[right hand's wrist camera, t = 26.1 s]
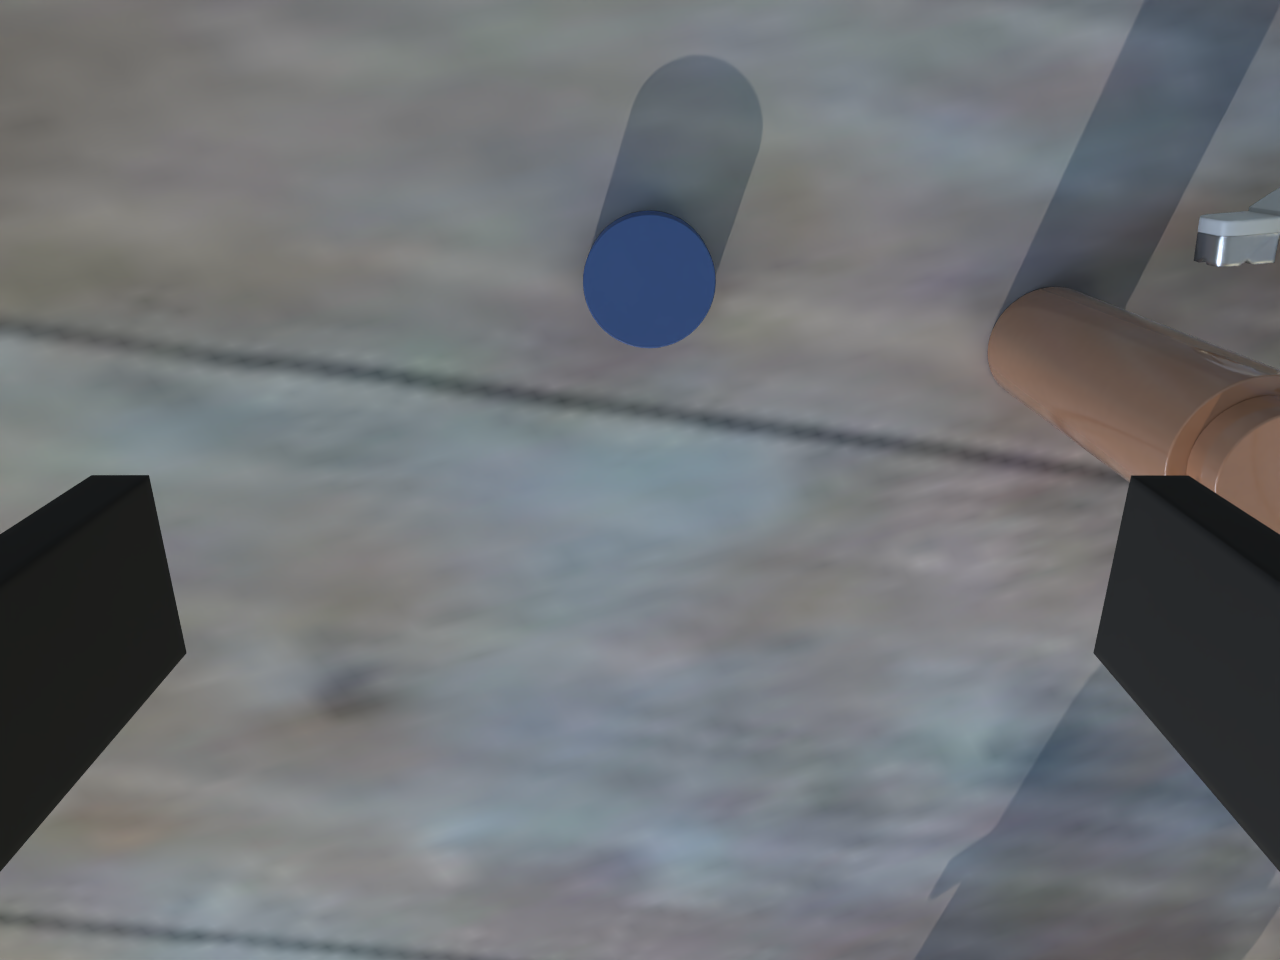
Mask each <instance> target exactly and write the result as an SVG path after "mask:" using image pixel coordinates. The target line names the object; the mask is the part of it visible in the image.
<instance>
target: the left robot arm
mask: <svg viewBox="0 0 1280 960" xmlns="http://www.w3.org/2000/svg"><path fill="white" fill-rule="evenodd" d="M1279 237H1280V187H1279V188H1278V189H1276V190H1275V191H1273V192H1271V193H1270V194H1268V195H1267V196H1265V197H1264V198H1262V199H1261V200H1259V201H1258V202H1256V203H1255V204H1253V205H1252V206H1250V207H1249V211H1241V212H1230V213H1218V214H1206V215H1202V216H1200V220H1199V227H1198V234H1197V241H1196V248H1195V255H1194V261H1197V262H1206V264H1208V265H1212V266H1239V265H1241V264H1242V263H1244V262H1245V263H1249V264H1253V265H1254V264H1265V263H1274V261H1275V256H1276V251H1277V246H1278V241H1279Z"/></svg>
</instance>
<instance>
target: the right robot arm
mask: <svg viewBox="0 0 1280 960" xmlns="http://www.w3.org/2000/svg"><path fill="white" fill-rule="evenodd" d="M185 654H186V649H185V644H184V639H183V634H182V630H181V625H180V620H179V616H178V611H177V606H176V601H175V597H174V592H173V587H172V582H171V578H170V573H169V568H168V564H167V559H166V554H165V549H164V545H163V540H162V535H161V530H160V526H159V521H158V516H157V512H156V507H155V502H154V497H153V493H152V488H151V483H150V478H149V475H91V476H90V477H88V478H87V479H85V480H84V481H82V482H81V483H79V484H77V485H76V486H74V487H73V488H71V489H70V490H68V491H67V492H65V493H64V494H62V495H60V496H59V497H57V498H56V499H54V500H53V501H51V502H50V503H48V504H47V505H45V506H43V507H42V508H40V509H39V510H37V511H36V512H34V513H33V514H31V515H30V516H28V517H26V518H25V519H23V520H22V521H20V522H19V523H17V524H16V525H14V526H13V527H11V528H9V529H8V530H6V531H5V532H3V533H2V534H0V871H1V870H2V869H3V868H4V867H5V865H6V864H7V863H8V862H9V861H10V860H11V858H12V857H13V856H14V855H15V854H16V853H17V851H18V850H19V849H20V848H21V847H22V845H23V844H24V843H25V842H26V841H27V840H28V838H29V837H30V836H31V835H32V834H33V833H34V831H35V830H36V829H37V828H38V827H39V826H40V824H41V823H42V822H43V821H44V820H45V818H46V817H47V816H48V815H49V814H50V813H51V811H52V810H53V809H54V808H55V807H56V806H57V804H58V803H59V802H60V801H61V800H62V799H63V797H64V796H65V795H66V794H67V793H68V791H69V790H70V789H71V788H72V787H73V786H74V784H75V783H76V782H77V781H78V780H79V779H80V777H81V776H82V775H83V774H84V773H85V772H86V770H87V769H88V768H89V767H90V766H91V764H92V763H93V762H94V761H95V760H96V759H97V757H98V756H99V755H100V754H101V753H102V752H103V750H104V749H105V748H106V747H107V746H108V745H109V743H110V742H111V741H112V740H113V739H114V737H115V736H116V735H117V734H118V733H119V732H120V730H121V729H122V728H123V727H124V726H125V725H126V723H127V722H128V721H129V720H130V719H131V718H132V716H133V715H134V714H135V713H136V712H137V710H138V709H139V708H140V707H141V706H142V705H143V703H144V702H145V701H146V700H147V699H148V698H149V696H150V695H151V694H152V693H153V692H154V691H155V689H156V688H157V687H158V686H159V685H160V683H161V682H162V681H163V680H164V679H165V678H166V676H167V675H168V674H169V673H170V672H171V671H172V669H173V668H174V667H175V666H176V665H177V664H178V662H179V661H180V660H181V659H182V658H183V656H184V655H185ZM1094 654H1095V655H1096V656H1097V658H1098V659H1099V660H1100V661H1101V662H1102V664H1103V665H1104V666H1105V667H1106V668H1107V669H1108V671H1109V672H1110V673H1111V674H1112V675H1113V676H1114V678H1115V679H1116V680H1117V681H1118V682H1119V683H1120V685H1121V686H1122V687H1123V688H1124V689H1125V691H1126V692H1127V693H1128V694H1129V695H1130V696H1131V698H1132V699H1133V700H1134V701H1135V702H1136V703H1137V705H1138V706H1139V707H1140V708H1141V709H1142V710H1143V712H1144V713H1145V714H1146V715H1147V716H1148V718H1149V719H1150V720H1151V721H1152V722H1153V723H1154V725H1155V726H1156V727H1157V728H1158V729H1159V730H1160V732H1161V733H1162V734H1163V735H1164V736H1165V737H1166V739H1167V740H1168V741H1169V742H1170V743H1171V745H1172V746H1173V747H1174V748H1175V749H1176V750H1177V752H1178V753H1179V754H1180V755H1181V756H1182V757H1183V759H1184V760H1185V761H1186V762H1187V763H1188V764H1189V766H1190V767H1191V768H1192V769H1193V770H1194V772H1195V773H1196V774H1197V775H1198V776H1199V777H1200V779H1201V780H1202V781H1203V782H1204V783H1205V784H1206V786H1207V787H1208V788H1209V789H1210V790H1211V791H1212V793H1213V794H1214V795H1215V796H1216V797H1217V799H1218V800H1219V801H1220V802H1221V803H1222V804H1223V806H1224V807H1225V808H1226V809H1227V810H1228V811H1229V813H1230V814H1231V815H1232V816H1233V817H1234V818H1235V820H1236V821H1237V822H1238V823H1239V824H1240V826H1241V827H1242V828H1243V829H1244V830H1245V831H1246V833H1247V834H1248V835H1249V836H1250V837H1251V838H1252V840H1253V841H1254V842H1255V843H1256V844H1257V845H1258V847H1259V848H1260V849H1261V850H1262V851H1263V853H1264V854H1265V855H1266V856H1267V857H1268V858H1269V860H1270V861H1271V862H1272V863H1273V864H1274V865H1275V867H1276V868H1277V869H1278V870H1279V871H1280V534H1278V533H1277V532H1275V531H1274V530H1272V529H1271V528H1269V527H1267V526H1266V525H1264V524H1263V523H1261V522H1260V521H1258V520H1257V519H1255V518H1254V517H1252V516H1250V515H1249V514H1247V513H1246V512H1244V511H1243V510H1241V509H1240V508H1238V507H1237V506H1235V505H1233V504H1232V503H1230V502H1229V501H1227V500H1226V499H1224V498H1223V497H1221V496H1220V495H1218V494H1216V493H1215V492H1213V491H1212V490H1210V489H1209V488H1207V487H1206V486H1204V485H1203V484H1201V483H1199V482H1198V481H1196V480H1195V479H1193V478H1192V477H1190V476H1189V475H1131V478H1130V483H1129V488H1128V493H1127V497H1126V502H1125V507H1124V512H1123V516H1122V521H1121V526H1120V530H1119V535H1118V540H1117V545H1116V549H1115V554H1114V559H1113V564H1112V568H1111V573H1110V578H1109V582H1108V587H1107V592H1106V597H1105V601H1104V606H1103V611H1102V616H1101V620H1100V625H1099V630H1098V634H1097V639H1096V644H1095V649H1094Z"/></svg>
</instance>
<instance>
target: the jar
mask: <svg viewBox="0 0 1280 960" xmlns="http://www.w3.org/2000/svg"><path fill="white" fill-rule="evenodd" d="M988 362H989V367H990V369H991V372H992V374H993V376H994V378H995V380H996V381H997V383H998V384H999V385H1000V386H1001V387H1002V388H1003V389H1004V390H1005V391H1007V392H1008V393H1009V394H1011V395H1012V396H1013V397H1015V398H1016V399H1017V400H1019V401H1020V402H1022V403H1023V404H1024V405H1026V406H1027V407H1028V408H1030V409H1031V410H1032V411H1034V412H1035V413H1036V414H1038V415H1039V416H1041V417H1042V418H1043V419H1045V420H1046V421H1047V422H1049V423H1050V424H1051V425H1053V426H1054V427H1055V428H1057V429H1058V430H1059V431H1061V432H1062V433H1064V434H1065V435H1066V436H1068V437H1069V438H1070V439H1072V440H1073V441H1074V442H1076V443H1077V444H1078V445H1080V446H1081V447H1082V448H1084V449H1085V450H1087V451H1088V452H1089V453H1091V454H1092V455H1093V456H1095V457H1096V458H1097V459H1099V460H1100V461H1101V462H1103V463H1104V464H1105V465H1107V466H1108V467H1110V468H1111V469H1112V470H1114V471H1115V472H1116V473H1118V474H1119V475H1120V476H1122V477H1123V478H1124V479H1126V480H1127V481H1128V482H1130V478H1131V475H1189V476H1190V477H1192V478H1193V479H1195V480H1196V481H1198V482H1199V483H1201V484H1203V485H1204V486H1206V487H1207V488H1209V489H1210V490H1212V491H1213V492H1215V493H1216V494H1218V495H1220V496H1221V497H1223V498H1224V499H1226V500H1227V501H1229V502H1230V503H1232V504H1233V505H1235V506H1237V507H1238V508H1240V509H1241V510H1243V511H1244V512H1246V513H1247V514H1249V515H1250V516H1252V517H1254V518H1255V519H1257V520H1258V521H1260V522H1261V523H1263V524H1264V525H1266V526H1267V527H1269V528H1271V529H1272V530H1274V531H1275V532H1277V533H1278V534H1280V370H1279V369H1276V368H1274V367H1271V366H1269V365H1266V364H1263V363H1261V362H1258V361H1256V360H1253V359H1251V358H1248V357H1245V356H1243V355H1240V354H1238V353H1235V352H1233V351H1230V350H1228V349H1225V348H1222V347H1220V346H1217V345H1215V344H1212V343H1210V342H1207V341H1204V340H1202V339H1199V338H1197V337H1194V336H1192V335H1189V334H1186V333H1184V332H1181V331H1179V330H1176V329H1174V328H1171V327H1168V326H1166V325H1163V324H1161V323H1158V322H1156V321H1153V320H1151V319H1148V318H1145V317H1143V316H1140V315H1138V314H1135V313H1133V312H1130V311H1127V310H1125V309H1122V308H1120V307H1117V306H1115V305H1112V304H1109V303H1107V302H1104V301H1102V300H1099V299H1097V298H1094V297H1091V296H1089V295H1086V294H1084V293H1081V292H1079V291H1076V290H1073V289H1070V288H1065V287H1047V288H1041V289H1038V290H1035V291H1032V292H1030V293H1028V294H1025V295H1024V296H1022V297H1020V298H1019V299H1017V300H1016V301H1015V302H1013V303H1012V304H1011V305H1010V306H1009V307H1008V308H1007V309H1006V310H1005V311H1004V312H1003V313H1002V315H1001V316H1000V317H999V319H998V321H997V322H996V324H995V326H994V328H993V330H992V333H991V336H990V339H989V344H988Z"/></svg>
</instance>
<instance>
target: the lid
mask: <svg viewBox="0 0 1280 960" xmlns="http://www.w3.org/2000/svg"><path fill="white" fill-rule="evenodd" d="M715 283H716V280H715V270H714V264H713V261H712V258H711V255H710V253H709V251H708V249H707V247H706V245H705V243H704V242H703V240H702V239H701V237H700V236H699V235H698V233H697V232H696V231H695V230H694V229H693V228H692V227H691V226H690V225H689V224H687V223H686V222H684V221H683V220H681V219H680V218H678V217H675V216H673V215H671V214H668V213H664V212H659V211H639V212H635V213H631V214H628V215H625V216H623V217H621V218H619V219H617V220H615V221H614V222H613V223H611V224H610V225H609V226H607V227H606V228H605V229H604V230H603V231H602V232H601V234H600V235H599V236H598V237H597V239H596V241H595V242H594V244H593V246H592V248H591V250H590V252H589V255H588V258H587V261H586V264H585V268H584V275H583V287H584V295H585V299H586V302H587V305H588V308H589V310H590V312H591V314H592V316H593V317H594V319H595V320H596V322H597V323H598V324H599V325H600V326H601V328H602V329H603V330H604V331H606V332H607V333H608V334H609V335H610V336H612V337H613V338H615V339H617V340H618V341H621V342H623V343H625V344H628V345H631V346H635V347H640V348H659V347H663V346H668V345H670V344H673V343H676V342H678V341H680V340H682V339H683V338H685V337H686V336H688V335H689V334H690V333H692V332H693V331H694V330H695V329H696V328H697V327H698V326H699V325H700V323H701V322H702V321H703V319H704V318H705V316H706V315H707V313H708V311H709V309H710V307H711V304H712V301H713V297H714V293H715Z"/></svg>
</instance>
